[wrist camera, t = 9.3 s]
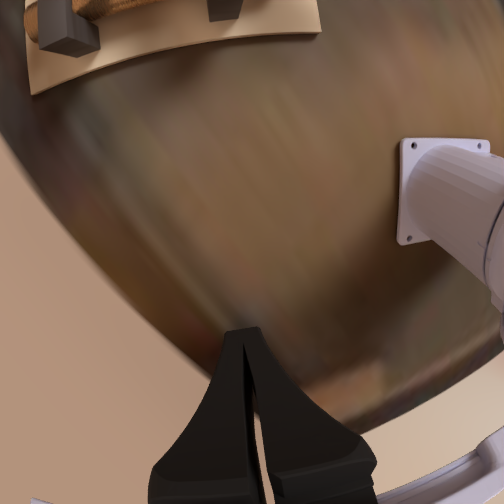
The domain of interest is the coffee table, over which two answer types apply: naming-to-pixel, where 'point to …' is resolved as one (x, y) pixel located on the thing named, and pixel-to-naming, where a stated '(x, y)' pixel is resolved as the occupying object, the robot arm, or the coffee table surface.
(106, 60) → the board
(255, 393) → the robot arm
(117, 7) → the tube
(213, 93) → the coffee table surface
